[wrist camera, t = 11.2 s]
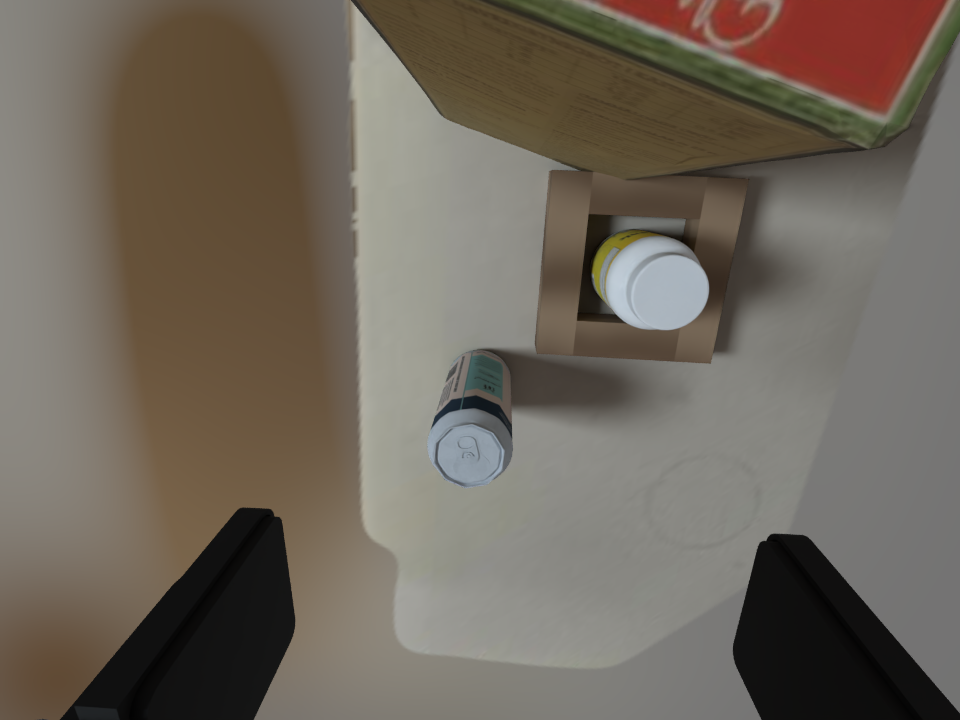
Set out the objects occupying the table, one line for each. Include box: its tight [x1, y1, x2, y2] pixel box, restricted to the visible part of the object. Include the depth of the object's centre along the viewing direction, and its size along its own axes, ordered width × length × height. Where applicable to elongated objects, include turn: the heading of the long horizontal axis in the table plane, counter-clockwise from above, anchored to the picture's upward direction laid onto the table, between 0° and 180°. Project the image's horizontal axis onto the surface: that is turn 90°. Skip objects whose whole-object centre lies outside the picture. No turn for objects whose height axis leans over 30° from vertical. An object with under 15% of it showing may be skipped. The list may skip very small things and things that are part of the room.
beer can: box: [427, 350, 513, 488], centre depth 32 cm, size 5×5×12 cm
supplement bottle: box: [590, 229, 709, 330], centre depth 30 cm, size 5×5×10 cm
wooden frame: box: [535, 170, 749, 364], centre depth 34 cm, size 12×12×2 cm
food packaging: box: [351, 0, 960, 180], centre depth 20 cm, size 13×9×25 cm
